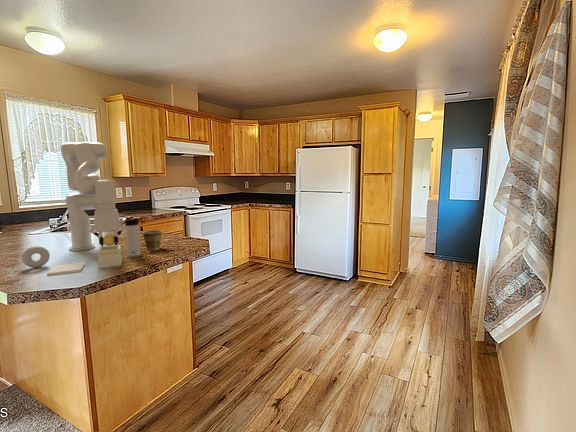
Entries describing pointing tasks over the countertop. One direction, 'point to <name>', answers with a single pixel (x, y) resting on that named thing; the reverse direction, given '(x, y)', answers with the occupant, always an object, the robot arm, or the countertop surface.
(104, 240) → the ochre ball
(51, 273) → the beige square board
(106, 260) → the cream lidded box
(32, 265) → the donut
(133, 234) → the travel mug
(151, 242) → the ceramic cup
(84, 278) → the countertop surface
